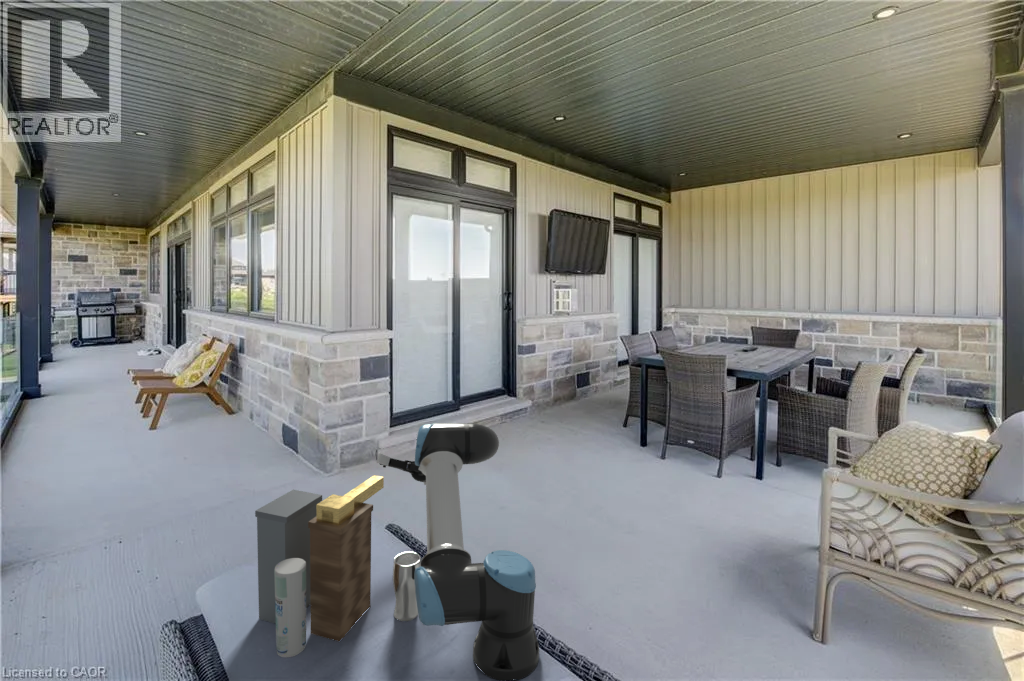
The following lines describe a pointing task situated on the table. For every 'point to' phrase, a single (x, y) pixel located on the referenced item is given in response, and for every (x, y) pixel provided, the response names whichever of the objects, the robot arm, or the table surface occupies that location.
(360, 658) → the table surface
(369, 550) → the block
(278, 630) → the spray can
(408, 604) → the beer glass
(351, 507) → the pin
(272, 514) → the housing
